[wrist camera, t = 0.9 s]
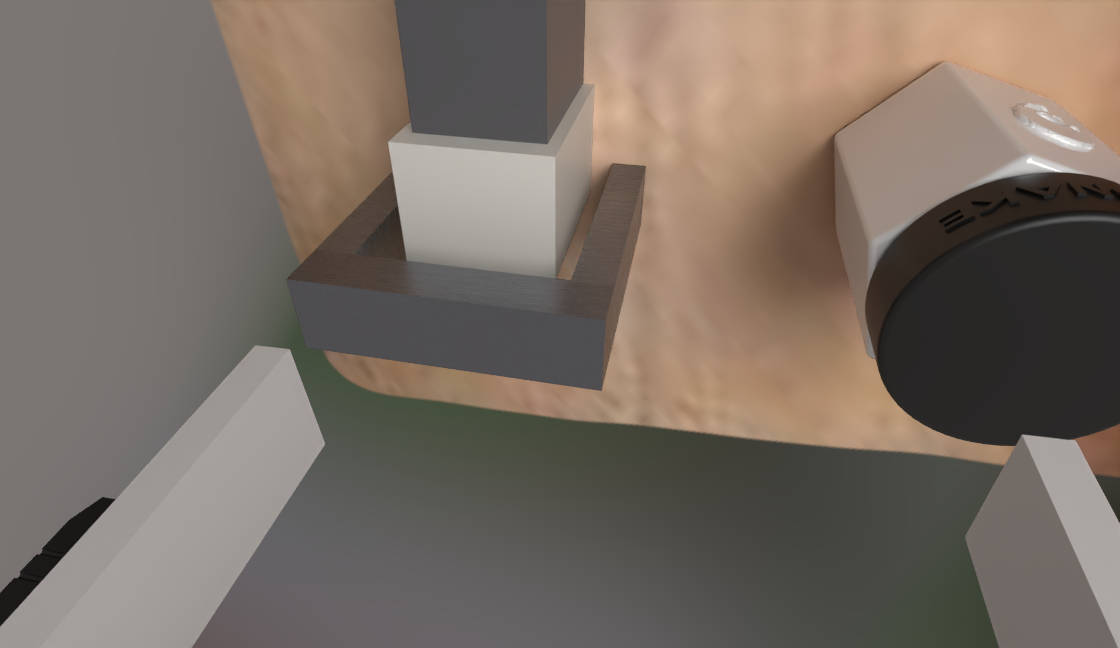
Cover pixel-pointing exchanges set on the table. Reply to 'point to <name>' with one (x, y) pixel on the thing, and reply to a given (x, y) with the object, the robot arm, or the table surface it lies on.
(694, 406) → the table surface
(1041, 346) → the jar
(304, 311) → the frame
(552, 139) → the plug
